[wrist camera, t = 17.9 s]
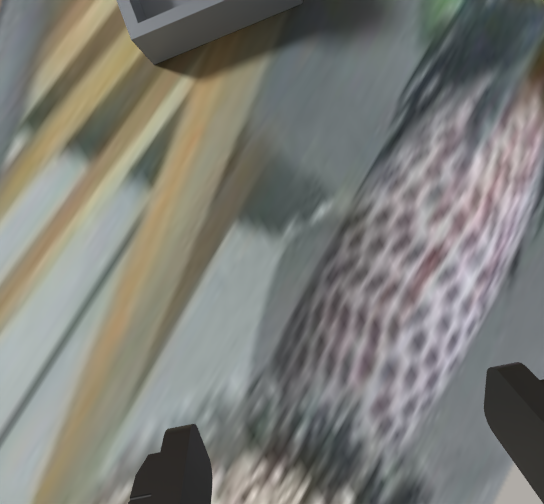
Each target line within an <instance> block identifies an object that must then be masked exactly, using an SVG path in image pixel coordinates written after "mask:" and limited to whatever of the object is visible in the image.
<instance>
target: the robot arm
mask: <svg viewBox="0 0 544 504" xmlns="http://www.w3.org/2000/svg"><path fill="white" fill-rule="evenodd" d="M484 412H485V416H486V419H487V422H488V424H489V426H490V428H491V430H492V432H493V433H494V434H495V436H496V437H497V439H498V440H499V442H500V443H501V444H502V446H503V447H504V449H505V450H506V451H507V453H508V454H509V456H510V457H511V458H512V460H513V461H514V463H515V464H516V465H517V467H518V468H519V470H520V471H521V473H522V474H523V475H524V476H525V478H526V479H527V481H528V482H529V484H530V485H531V487H532V488H533V489H534V491H535V492H536V494H537V495H538V497H539V498H540V499H541V501H542V502H543V504H544V380H539V379H538V378H537V377H536V376H535V375H534V374H533V373H532V372H531V371H530V370H529V369H528V368H527V367H526V366H525V365H523V364H522V363H519V362H516V363H511V364H506V365H501V366H495V367H490V368H489V369H488V370H487V376H486V388H485V400H484ZM211 495H212V468H211V463H210V459H209V456H208V454H207V451H206V449H205V446H204V443H203V441H202V438H201V436H200V433H199V431H198V428H197V426H196V425H195V424H191V425H186V426H180V427H175V428H170V429H167V430H166V432H165V434H164V438H163V443H162V447H161V452H160V453H155V454H149V455H148V456H147V458H146V460H145V461H144V463H143V464H142V466H141V468H140V469H139V471H138V472H137V474H136V476H135V480H134V484H133V487H132V491H131V495H130V502H128V504H211Z"/></svg>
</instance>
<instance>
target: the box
mask: <svg viewBox="0 0 544 504" xmlns="http://www.w3.org/2000/svg"><path fill="white" fill-rule="evenodd" d="M117 3H118V5H119V8H120V11H121V13H122V16H123V19H124V21H125V24H126V27H127V30H128V32H129V35H130V38H131V40H132V41H133V42H134V43H135V44H136V45H137V47H138V48H139V49H140V50H141V51H142V52H143V53H144V54H145V55H146V57H147V58H148V59H149V60H150V61H151V62H152V63H153V64H154V65H155V64H157V63H160V62H162V61H165V60H167V59H170V58H172V57H174V56H177V55H179V54H182V53H184V52H186V51H189V50H191V49H194V48H196V47H199V46H201V45H203V44H206V43H208V42H211V41H213V40H215V39H218V38H220V37H223V36H225V35H228V34H230V33H232V32H235V31H237V30H240V29H242V28H244V27H247V26H249V25H252V24H254V23H257V22H259V21H261V20H264V19H266V18H269V17H271V16H273V15H276V14H278V13H281V12H283V11H286V10H288V9H290V8H293V7H295V6H298V5H300V4H302V0H117Z"/></svg>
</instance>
